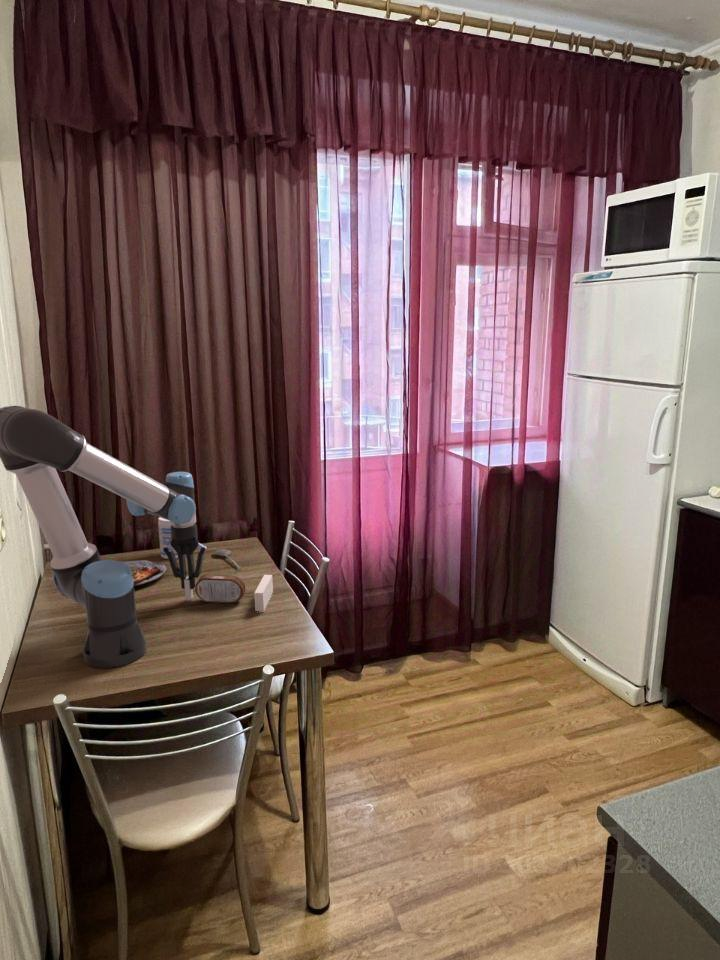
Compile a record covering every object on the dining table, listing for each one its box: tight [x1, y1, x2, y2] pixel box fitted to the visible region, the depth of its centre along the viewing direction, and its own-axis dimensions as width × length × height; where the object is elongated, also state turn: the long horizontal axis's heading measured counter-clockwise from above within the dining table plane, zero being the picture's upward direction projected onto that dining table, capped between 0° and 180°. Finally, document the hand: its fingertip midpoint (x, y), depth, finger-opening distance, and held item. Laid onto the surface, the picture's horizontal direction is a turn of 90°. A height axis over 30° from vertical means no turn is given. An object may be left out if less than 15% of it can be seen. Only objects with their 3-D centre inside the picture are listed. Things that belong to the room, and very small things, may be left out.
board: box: [253, 574, 274, 613], centre depth 190 cm, size 14×2×6 cm, turn 177°
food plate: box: [123, 559, 168, 587], centre depth 211 cm, size 25×23×4 cm
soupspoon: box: [211, 548, 243, 571], centre depth 226 cm, size 22×3×7 cm
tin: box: [194, 573, 246, 604], centre depth 191 cm, size 15×3×8 cm, turn 83°
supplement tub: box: [157, 517, 186, 560], centre depth 231 cm, size 10×10×15 cm
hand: (189, 598), depth 192 cm, fingers closed
